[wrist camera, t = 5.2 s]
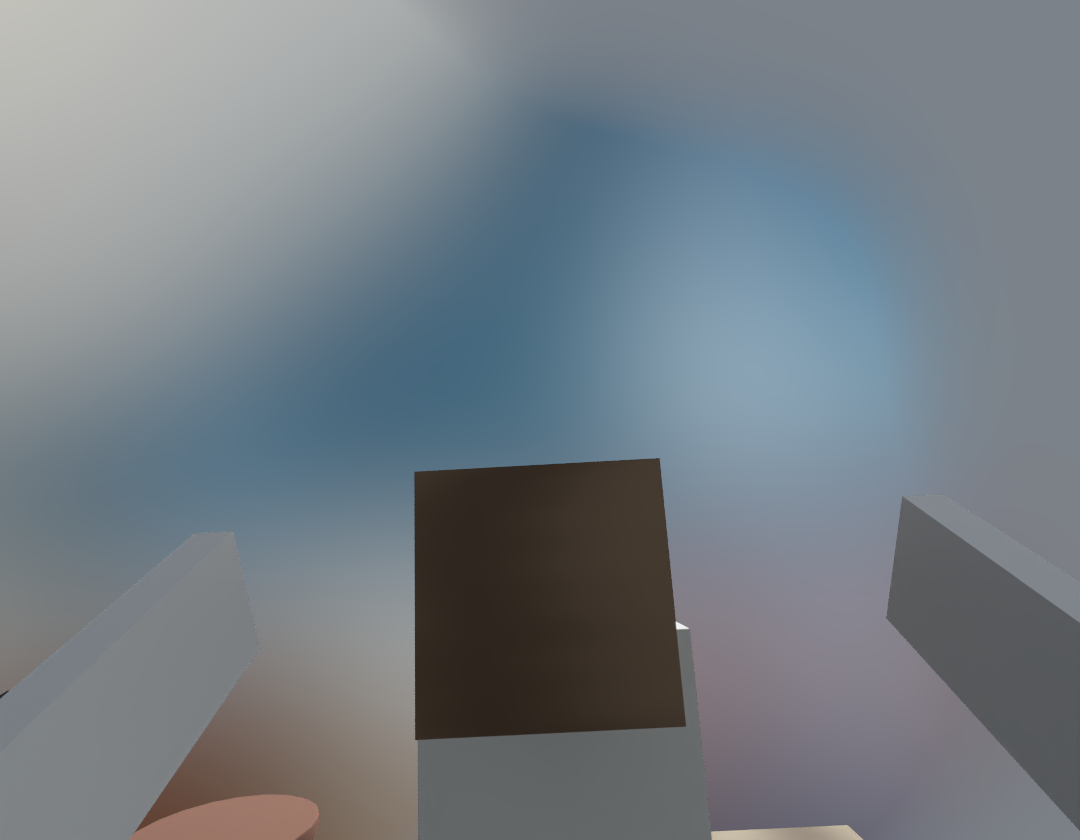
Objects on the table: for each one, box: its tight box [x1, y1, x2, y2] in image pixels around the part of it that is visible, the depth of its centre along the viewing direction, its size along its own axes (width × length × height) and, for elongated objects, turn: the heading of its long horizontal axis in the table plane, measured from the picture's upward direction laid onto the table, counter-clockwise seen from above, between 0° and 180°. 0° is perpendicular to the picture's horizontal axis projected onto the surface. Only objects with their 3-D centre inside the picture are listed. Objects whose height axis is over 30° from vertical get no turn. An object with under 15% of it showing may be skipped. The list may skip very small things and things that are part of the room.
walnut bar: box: [415, 458, 686, 740], centre depth 21 cm, size 4×26×4 cm, turn 179°
